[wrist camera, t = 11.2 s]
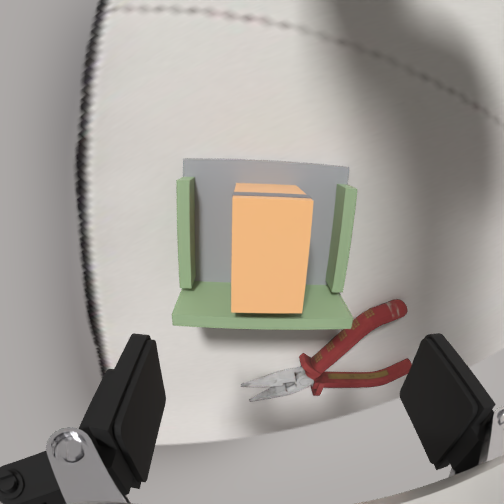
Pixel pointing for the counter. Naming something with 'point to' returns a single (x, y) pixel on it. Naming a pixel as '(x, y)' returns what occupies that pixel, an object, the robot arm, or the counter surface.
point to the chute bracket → (220, 234)
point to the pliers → (329, 354)
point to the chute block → (269, 248)
